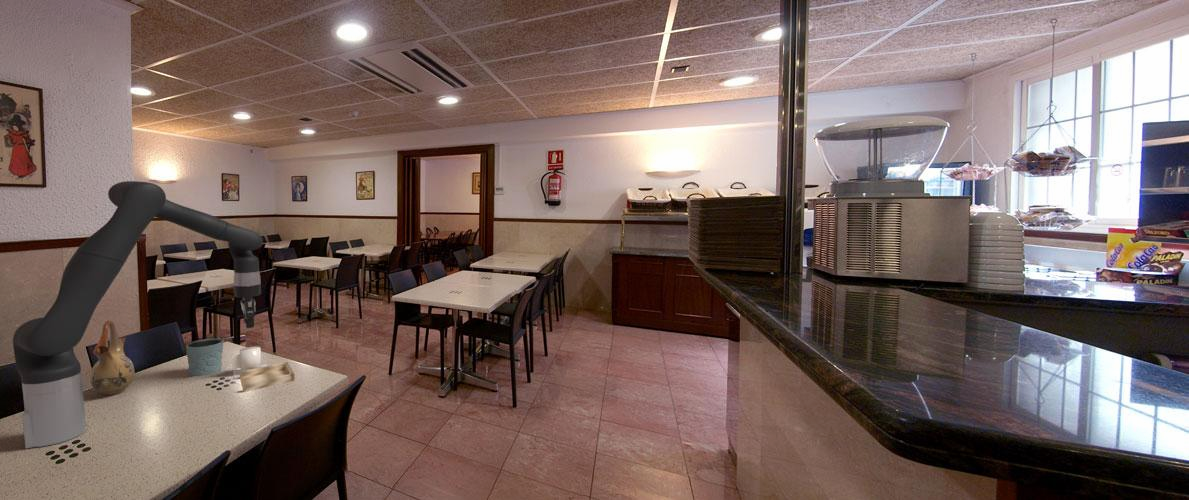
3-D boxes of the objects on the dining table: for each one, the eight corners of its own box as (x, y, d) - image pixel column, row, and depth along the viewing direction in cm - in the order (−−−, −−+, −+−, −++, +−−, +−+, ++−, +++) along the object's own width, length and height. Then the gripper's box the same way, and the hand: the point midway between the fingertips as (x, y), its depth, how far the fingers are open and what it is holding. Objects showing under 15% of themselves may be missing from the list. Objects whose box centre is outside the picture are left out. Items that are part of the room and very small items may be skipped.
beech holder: (243, 393, 132) (243, 385, 131) (240, 379, 142) (239, 371, 142) (294, 381, 142) (294, 373, 141) (287, 369, 152) (287, 362, 152)
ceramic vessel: (125, 398, 125) (119, 325, 123) (81, 406, 120) (74, 329, 117) (142, 380, 138) (137, 313, 136) (103, 386, 133) (97, 316, 130)
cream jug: (233, 378, 141) (231, 354, 140) (231, 373, 145) (230, 350, 145) (262, 371, 147) (261, 349, 146) (260, 367, 151) (259, 345, 151)
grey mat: (234, 381, 140) (234, 379, 140) (232, 372, 147) (232, 371, 147) (270, 373, 148) (269, 372, 148) (266, 365, 154) (266, 364, 154)
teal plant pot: (195, 369, 149) (194, 339, 148) (229, 366, 153) (228, 337, 152) (181, 380, 140) (179, 348, 138) (217, 376, 144) (216, 345, 143)
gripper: (232, 281, 146) (234, 322, 148) (235, 287, 137) (237, 331, 138) (258, 279, 152) (259, 319, 153) (262, 285, 142) (264, 327, 143)
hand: (249, 325), depth 146 cm, fingers open, 8 cm apart
